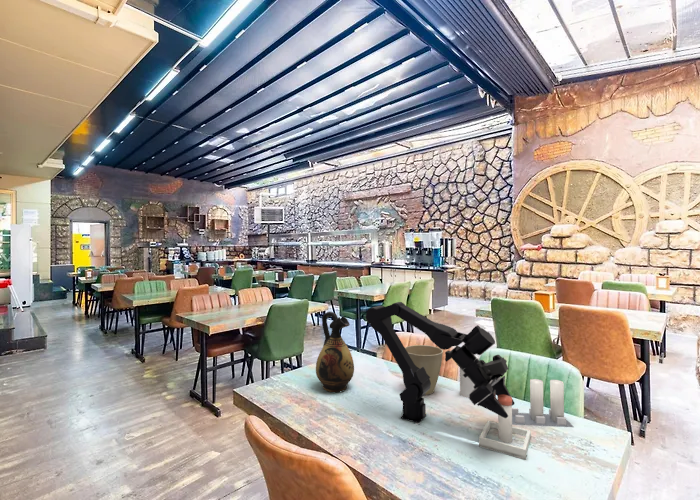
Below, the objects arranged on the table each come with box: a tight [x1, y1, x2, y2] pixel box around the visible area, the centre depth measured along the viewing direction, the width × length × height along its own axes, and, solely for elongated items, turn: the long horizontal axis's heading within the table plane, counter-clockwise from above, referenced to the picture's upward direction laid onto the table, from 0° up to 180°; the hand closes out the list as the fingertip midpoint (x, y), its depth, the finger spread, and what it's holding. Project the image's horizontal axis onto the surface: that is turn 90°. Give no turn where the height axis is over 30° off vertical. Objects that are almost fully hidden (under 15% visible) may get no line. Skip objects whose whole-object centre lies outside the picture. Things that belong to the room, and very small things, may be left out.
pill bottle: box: [459, 354, 480, 399], centre depth 130 cm, size 8×8×15 cm
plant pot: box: [405, 344, 444, 396], centre depth 136 cm, size 15×15×16 cm
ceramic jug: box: [315, 311, 355, 393], centre depth 141 cm, size 17×15×30 cm
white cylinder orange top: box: [496, 395, 513, 444], centre depth 99 cm, size 4×4×12 cm
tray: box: [478, 420, 532, 460], centre depth 99 cm, size 12×12×2 cm
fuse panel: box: [512, 378, 575, 428], centre depth 110 cm, size 19×8×13 cm, turn 83°
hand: (510, 410), depth 98 cm, fingers open, 9 cm apart
